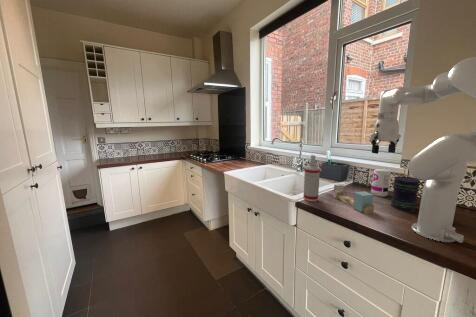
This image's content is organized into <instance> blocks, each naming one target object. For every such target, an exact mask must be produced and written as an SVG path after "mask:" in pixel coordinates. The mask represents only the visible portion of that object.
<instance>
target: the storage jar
mask: <svg viewBox="0 0 476 317" xmlns="http://www.w3.org/2000/svg"><path fill="white" fill-rule="evenodd" d="M420 180H421V179H417V178H415V177H409V176H399V175H398V176H394V178H393V184H392V187H393V190H392V195H391V200H390V201H391V202H390V203H391V204H390V207H391V208H393V209H395V210H398V211H402V212H406V213H407V212H411V213H412V212H415V211H416V207H417V202H418V201H417V195H418V192H419V188H420Z"/></svg>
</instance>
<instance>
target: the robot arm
mask: <svg viewBox="0 0 476 317" xmlns="http://www.w3.org/2000/svg"><path fill="white" fill-rule="evenodd" d="M461 94H466V95H468V96H470V97H472V98H474V99H476V56H473V57H468V58H465V59H463V60H460V61H459V62H457V63H456V64H454V65H453V66H452V67H451V69H450V70H449V71H446V72H443V73H440V74H438V75H437V76H436V77H435V78H434V79H433V82H432V83H430V84H426V85H422V86H398V87H395V88H392V89H384V90H382V91H381V92H380V96H379V103H378V104H379V105H378V114H377V115H376V116H377V120H376V121H375V125H374V130H373V133H372V134H370V135H369V136H368V138H369V142H370V145H372V146H371V153H372V154H376V155H378V154H379V150H380V143H381V142H388V150H387V153H393V154H394V153H396V147H397V145H398V142H399V141H400V139H401V137H402V135H401V134H400V133H399V132H400V125H399V120H398V115H399V108H400V106H405V105H406V106H417V105H418V106H419V105H424V104H429V103H433V102H434V103H435V102H437V101H441V100H443V99H445V98H448V97H452V96H456V95H461ZM469 163H470V164H471V163H476V129H474V130H471V131H469V132H468V131H467V132H457V133H456V132H455V133H449V134H446V135H444V136H441V137H439V138H437V139H436V140H434V141H433V142H431V143H430V144H429V145H427V146H425V148H423V149H421V151H419V152H418V153H416V154H415V155H414V156H413V157H412V158H411V159H410V161H409V162H408V167H407V168H408V169H407V170H408V172H409V174H410V175H411V176H412V178H415V179H418V180H422V181H424V184H423V185H422V187H423V188H422V191H421V192H422V193H421V197H420V203H419V204H420V205H419V210H418V216H417V217H418V218H417V222H415V223H412V224H411V227H410V228H411V231H413V232H414V233H415V232H416V233H415V234H417V235H419V236H422V237H423V238H426V239H428V238H429V239H428V240H432V239H433V240H432V241H435V240H436V242H440V241H441V242H442V243H453V242H458V243H460V244H462V243H464V238H465V235H463V234H460V233H457V232H456V227H454V226H453V224H454V218H455V214H456V208H457V203H458V198H459V193H460V188H461V186H462V183H463V181H464V179H465V176H466V174H467V172H468V164H469Z"/></svg>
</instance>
